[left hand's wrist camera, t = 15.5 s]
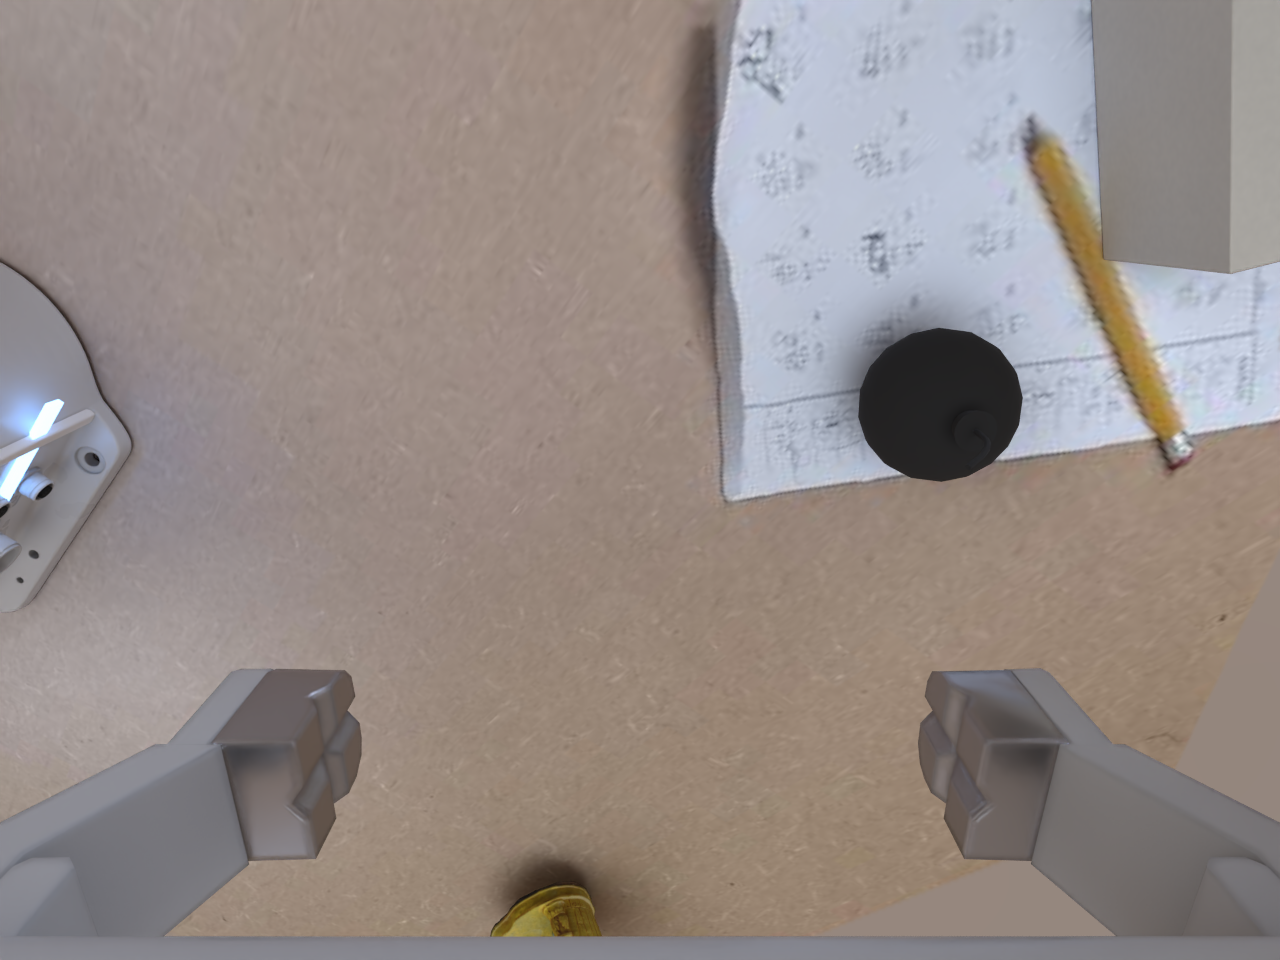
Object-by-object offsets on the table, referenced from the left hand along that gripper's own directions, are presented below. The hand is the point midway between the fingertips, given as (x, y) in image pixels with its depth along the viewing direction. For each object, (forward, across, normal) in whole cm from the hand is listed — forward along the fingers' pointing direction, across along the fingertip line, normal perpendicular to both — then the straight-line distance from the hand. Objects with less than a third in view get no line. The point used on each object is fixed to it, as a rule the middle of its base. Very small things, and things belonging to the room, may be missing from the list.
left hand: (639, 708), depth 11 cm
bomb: (+33, -16, +3) cm, 37 cm away
